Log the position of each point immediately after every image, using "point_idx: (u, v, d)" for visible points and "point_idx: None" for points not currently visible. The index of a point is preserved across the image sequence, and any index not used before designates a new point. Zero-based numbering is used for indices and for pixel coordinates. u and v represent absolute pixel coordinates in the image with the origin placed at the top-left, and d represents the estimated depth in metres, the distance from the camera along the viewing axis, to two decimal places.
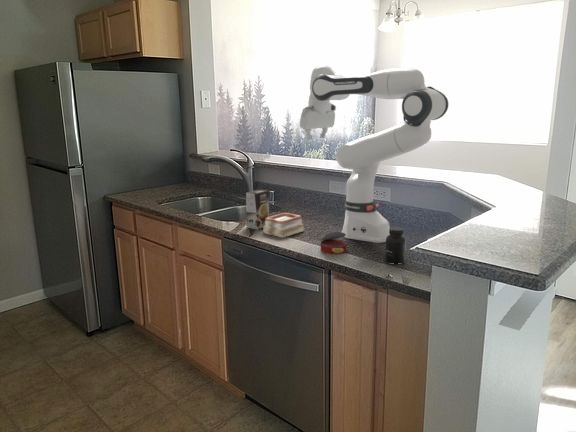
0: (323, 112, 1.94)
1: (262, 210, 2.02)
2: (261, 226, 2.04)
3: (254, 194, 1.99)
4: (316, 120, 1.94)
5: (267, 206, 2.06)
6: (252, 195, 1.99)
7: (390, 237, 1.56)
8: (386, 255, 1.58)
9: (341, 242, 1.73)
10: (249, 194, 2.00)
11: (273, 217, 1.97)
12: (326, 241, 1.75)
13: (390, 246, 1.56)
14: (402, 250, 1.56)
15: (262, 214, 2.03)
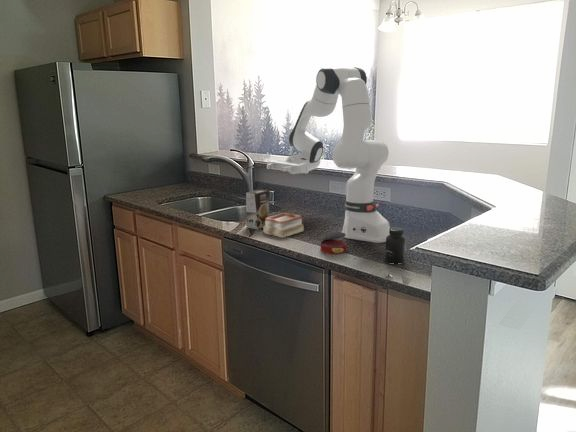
0: (290, 158, 2.17)
1: (262, 210, 2.02)
2: (261, 226, 2.04)
3: (254, 194, 1.99)
4: (281, 161, 2.17)
5: (267, 206, 2.06)
6: (252, 195, 1.99)
7: (390, 237, 1.56)
8: (386, 255, 1.58)
9: (341, 242, 1.73)
10: (249, 194, 2.00)
11: (273, 217, 1.97)
12: (326, 241, 1.75)
13: (390, 246, 1.56)
14: (402, 250, 1.56)
15: (262, 214, 2.03)
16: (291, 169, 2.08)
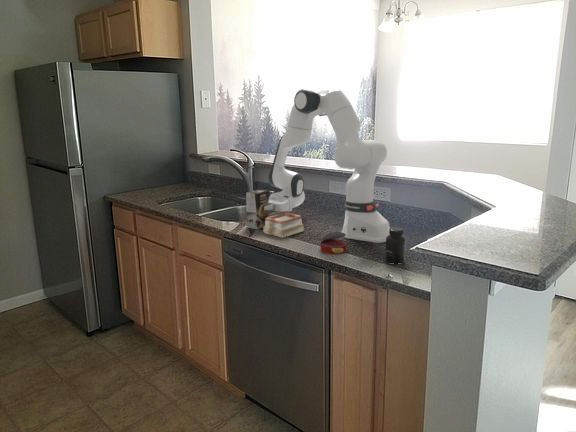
0: (273, 196, 2.12)
1: (262, 210, 2.02)
2: (261, 226, 2.04)
3: (254, 194, 1.99)
4: None
5: None
6: (252, 195, 1.99)
7: (390, 237, 1.56)
8: (386, 255, 1.58)
9: (341, 242, 1.73)
10: (249, 194, 2.00)
11: (273, 217, 1.97)
12: (326, 241, 1.75)
13: (390, 246, 1.56)
14: (402, 250, 1.56)
15: (262, 214, 2.03)
16: (272, 208, 2.04)
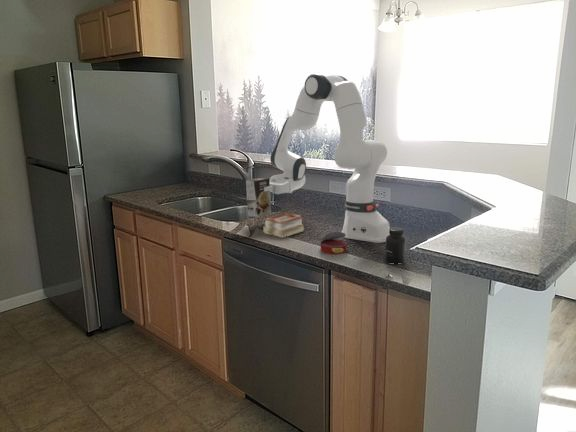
0: (273, 178, 2.10)
1: (262, 198, 2.01)
2: (262, 214, 2.02)
3: (253, 181, 1.98)
4: None
5: (269, 194, 2.04)
6: (251, 182, 1.98)
7: (390, 237, 1.56)
8: (386, 255, 1.58)
9: (341, 242, 1.73)
10: (249, 182, 1.99)
11: (273, 217, 1.97)
12: (326, 241, 1.75)
13: (390, 246, 1.56)
14: (402, 250, 1.56)
15: (262, 202, 2.01)
16: (272, 189, 2.01)
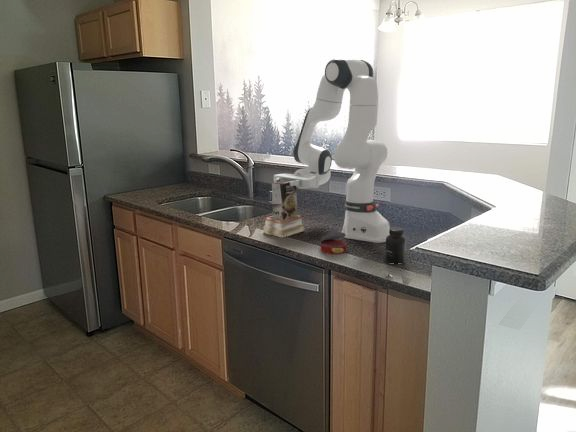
0: (299, 172, 2.00)
1: (288, 202, 1.92)
2: None
3: (279, 184, 1.89)
4: (289, 175, 2.00)
5: (295, 198, 1.95)
6: (277, 185, 1.90)
7: (390, 237, 1.56)
8: (386, 255, 1.58)
9: (341, 242, 1.73)
10: (275, 185, 1.91)
11: None
12: (326, 241, 1.75)
13: (390, 246, 1.56)
14: (402, 250, 1.56)
15: (289, 206, 1.92)
16: (298, 183, 1.91)
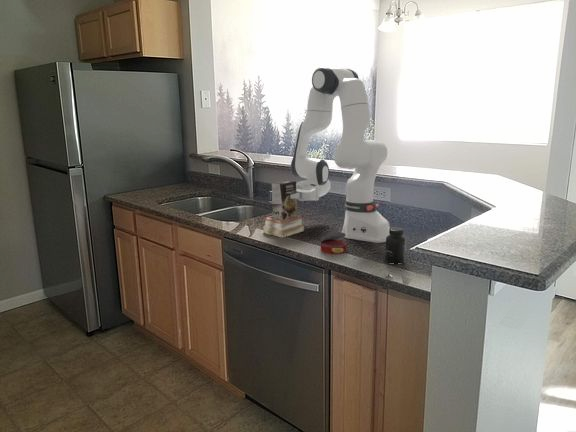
0: (299, 184, 2.01)
1: (288, 202, 1.92)
2: None
3: (279, 184, 1.89)
4: None
5: (295, 198, 1.95)
6: (277, 185, 1.90)
7: (390, 237, 1.56)
8: (386, 255, 1.58)
9: (341, 242, 1.73)
10: (275, 184, 1.91)
11: None
12: (326, 241, 1.75)
13: (390, 246, 1.56)
14: (402, 250, 1.56)
15: (289, 206, 1.92)
16: (299, 196, 1.92)
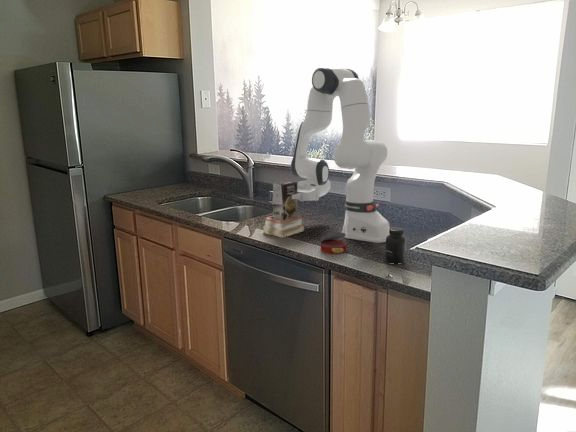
0: (299, 184, 2.01)
1: (289, 203, 1.91)
2: None
3: (281, 185, 1.88)
4: None
5: None
6: (279, 186, 1.89)
7: (390, 237, 1.56)
8: (386, 255, 1.58)
9: (341, 242, 1.73)
10: (276, 185, 1.90)
11: None
12: (326, 241, 1.75)
13: (390, 246, 1.56)
14: (402, 250, 1.56)
15: (289, 206, 1.92)
16: (300, 196, 1.92)
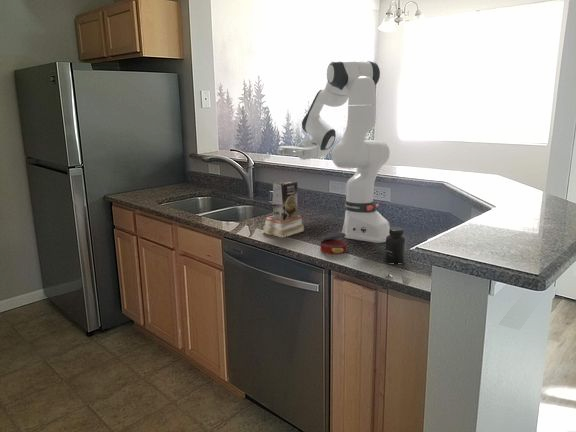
0: (301, 143, 2.17)
1: (289, 203, 1.91)
2: None
3: (281, 185, 1.88)
4: None
5: (296, 198, 1.95)
6: (279, 186, 1.89)
7: (390, 237, 1.56)
8: (386, 255, 1.58)
9: (341, 242, 1.73)
10: (276, 185, 1.90)
11: None
12: (326, 241, 1.75)
13: (390, 246, 1.56)
14: (402, 250, 1.56)
15: (289, 206, 1.92)
16: (302, 153, 2.08)
